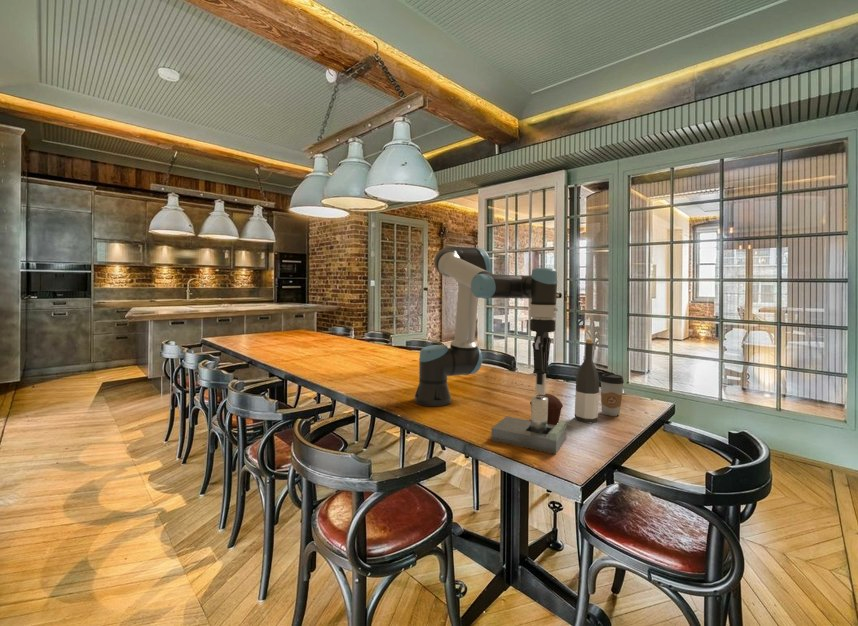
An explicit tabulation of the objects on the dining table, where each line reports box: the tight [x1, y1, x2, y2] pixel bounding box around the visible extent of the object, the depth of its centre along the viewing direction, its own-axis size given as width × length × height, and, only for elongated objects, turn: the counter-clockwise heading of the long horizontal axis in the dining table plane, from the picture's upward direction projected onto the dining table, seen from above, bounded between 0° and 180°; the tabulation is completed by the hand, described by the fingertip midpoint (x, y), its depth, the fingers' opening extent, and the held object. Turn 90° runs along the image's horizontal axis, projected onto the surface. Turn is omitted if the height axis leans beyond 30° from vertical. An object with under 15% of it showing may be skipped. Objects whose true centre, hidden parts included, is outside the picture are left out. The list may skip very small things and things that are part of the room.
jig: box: [490, 416, 568, 455], centre depth 130 cm, size 20×14×6 cm
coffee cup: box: [599, 373, 625, 417], centre depth 160 cm, size 8×8×15 cm
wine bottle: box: [574, 338, 600, 424], centre depth 151 cm, size 8×8×30 cm
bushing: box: [530, 395, 548, 435], centre depth 129 cm, size 5×5×14 cm
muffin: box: [529, 392, 564, 425], centre depth 148 cm, size 12×11×10 cm
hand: (540, 394), depth 128 cm, fingers closed
